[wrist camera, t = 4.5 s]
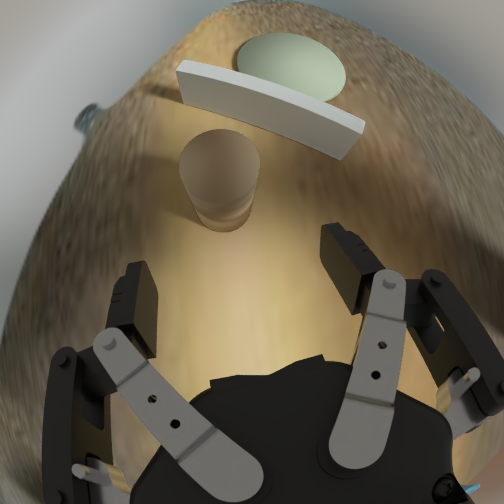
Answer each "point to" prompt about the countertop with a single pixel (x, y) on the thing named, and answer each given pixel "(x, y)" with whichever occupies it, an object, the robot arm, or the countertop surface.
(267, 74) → the sage mat
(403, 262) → the countertop surface
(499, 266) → the countertop surface
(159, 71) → the countertop surface
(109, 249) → the countertop surface
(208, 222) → the beech cylinder
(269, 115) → the frosted wall
